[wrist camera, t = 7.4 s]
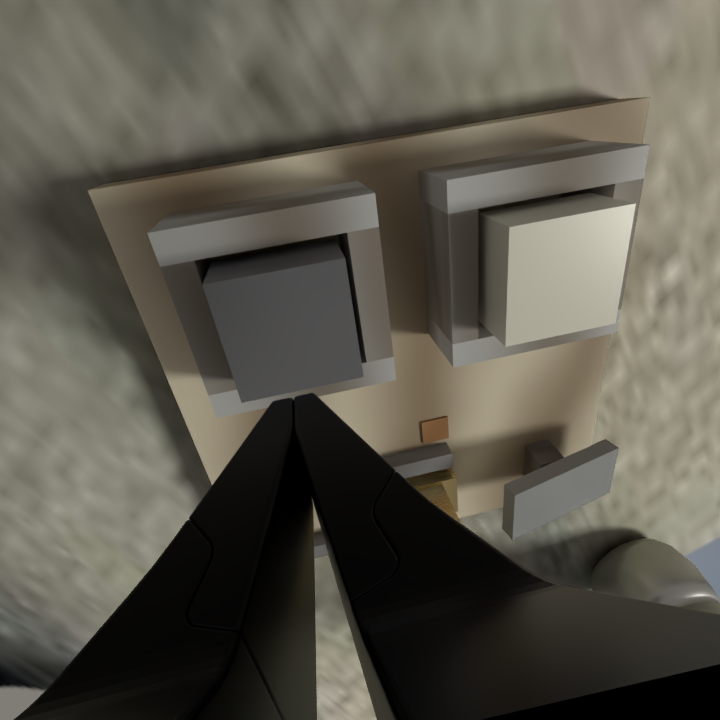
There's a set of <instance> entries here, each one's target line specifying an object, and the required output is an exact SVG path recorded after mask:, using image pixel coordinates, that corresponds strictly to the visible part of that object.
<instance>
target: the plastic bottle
mask: <svg viewBox="0 0 720 720" xmlns="http://www.w3.org/2000/svg"><path fill="white" fill-rule="evenodd" d="M592 591H596V592H601V593H607V594H612V595H617V596H623V597H628V598H633V599H639V600H644V601H650V602H655V603H660V604H666V605H671V606H677V607H682V608H687V609H693V610H698V611H703V612H709V613H716V614H720V599H719V597H718V596H717V594H716V593H715V591H714V590H713V588H712V587H711V585H710V584H709V583H708V582H707V580H706V579H705V578H704V576H703V575H702V574H701V572H700V571H699V570H698V568H697V567H696V566H695V565H694V564H693V563H692V562H690V561H689V560H688V559H687V558H686V557H684V556H683V555H682V554H681V553H679V552H678V551H677V550H676V549H675V548H673V547H672V546H670V545H668V544H665V543H662V542H660V541H657V540H654V539H637V540H633V541H629V542H626V543H624V544H622V545H620V546H618V547H616V548H614V549H613V550H611V551H610V552H609V553H607V554H606V555H605V556H604V557H603V558H602V559H601V560H600V561H599V562H598V563H597V565H596V566H595V568H594V570H593V573H592Z"/></svg>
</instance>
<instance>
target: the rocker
mask: <svg viewBox="0 0 720 720" xmlns="http://www.w3.org/2000/svg"><path fill="white" fill-rule="evenodd" d="M617 453H618V447H616V446H615V445H613V444H612V443H610V442H609V441H607V440H606V439H605V440H602V441H600V442H598V443H596V444H594V445H591V446H589V447H587V448H585V449H582V450H580V451H578V452H576V453H573V454H571V455H569V456H567V457H564V458H562V459H560V460H558V461H556V462H553V463H551V464H549V465H547V466H544V467H542V468H540V469H538V470H535V471H533V472H531V473H529V474H527V475H524V476H522V477H520V478H518V479H515V480H513V481H511V482H509V483H506V484H504V499H503V524H502V529H503V530H504V531H505V532H506V533H507V534H508V536H509V537H510V538H511V539H512V540H514V539H516V538H518V537H520V536H522V535H524V534H526V533H528V532H530V531H532V530H534V529H536V528H538V527H540V526H542V525H544V524H546V523H548V522H550V521H552V520H554V519H556V518H558V517H560V516H562V515H565V514H567V513H569V512H571V511H573V510H575V509H577V508H579V507H581V506H583V505H585V504H587V503H589V502H591V501H593V500H595V499H597V498H599V497H601V496H603V495H605V494H607V493H609V492H610V487H611V482H612V477H613V472H614V468H615V463H616V458H617Z"/></svg>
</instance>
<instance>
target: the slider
mask: <svg viewBox="0 0 720 720" xmlns="http://www.w3.org/2000/svg"><path fill="white" fill-rule="evenodd" d="M405 479H406V480H407V481H408V482H409V483H410V484H411V485H412V486H414V487H415V488H416V489H417V490H418V491H419V492H420V493H422V494H423V495H424V496H425V497H426V498H427V499H428V500H430V501H431V502H432V503H434V504H435V505H436V506H438V507H439V508H440V509H442V510H443V511H444V512H446V513H447V514H448V515H450V516H451V517H452V518H454V519H455V520H457V521H458V522H459V523H461V522H460V520H459V518H458V516H457V514H456V512H458V496H457V477H456V475H455V473H454V471H453V469H452V468H447V469H442V470H438V471H434V472H430V473H425V474H421V475H417V476H413V477H408V478H405Z"/></svg>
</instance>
